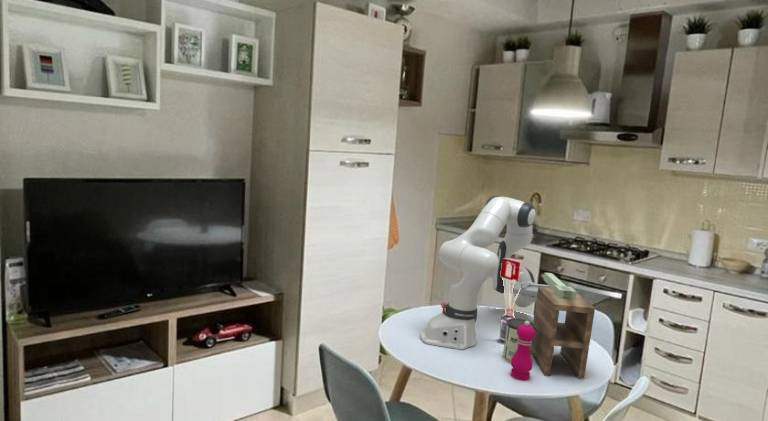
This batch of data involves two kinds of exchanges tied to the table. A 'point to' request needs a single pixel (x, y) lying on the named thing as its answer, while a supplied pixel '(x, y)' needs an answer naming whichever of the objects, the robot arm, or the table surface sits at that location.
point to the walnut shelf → (562, 331)
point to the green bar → (559, 287)
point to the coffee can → (513, 338)
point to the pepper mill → (523, 352)
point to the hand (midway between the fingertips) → (540, 285)
